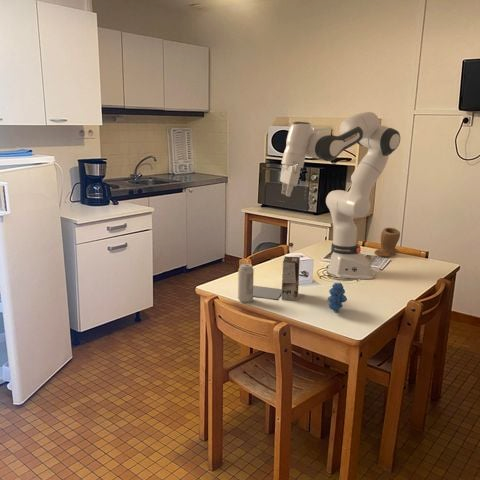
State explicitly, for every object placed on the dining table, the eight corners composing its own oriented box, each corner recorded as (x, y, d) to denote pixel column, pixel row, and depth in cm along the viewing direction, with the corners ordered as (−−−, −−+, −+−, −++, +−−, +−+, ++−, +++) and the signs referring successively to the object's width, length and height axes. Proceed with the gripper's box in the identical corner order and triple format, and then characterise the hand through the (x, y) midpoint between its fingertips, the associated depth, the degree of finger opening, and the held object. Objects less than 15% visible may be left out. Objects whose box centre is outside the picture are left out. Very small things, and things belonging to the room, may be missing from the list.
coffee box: (296, 300, 196) (298, 263, 192) (281, 299, 197) (282, 261, 193) (298, 293, 205) (300, 256, 201) (283, 291, 206) (284, 255, 202)
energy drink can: (244, 296, 200) (244, 262, 196) (255, 300, 196) (256, 265, 192) (235, 300, 195) (235, 265, 191) (246, 304, 191) (247, 268, 188)
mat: (283, 290, 208) (283, 289, 207) (277, 300, 197) (277, 299, 196) (248, 285, 212) (248, 284, 212) (240, 295, 201) (240, 294, 201)
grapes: (339, 319, 179) (341, 288, 176) (323, 314, 183) (324, 284, 180) (352, 309, 188) (354, 280, 185) (336, 305, 192) (338, 276, 189)
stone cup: (392, 260, 253) (394, 232, 249) (371, 255, 261) (373, 228, 257) (404, 254, 264) (406, 227, 260) (383, 250, 272) (386, 224, 268)
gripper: (306, 163, 185) (298, 199, 187) (295, 162, 205) (288, 194, 207) (290, 160, 184) (282, 196, 186) (281, 159, 204) (274, 191, 206)
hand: (285, 195), depth 197 cm, fingers open, 8 cm apart
